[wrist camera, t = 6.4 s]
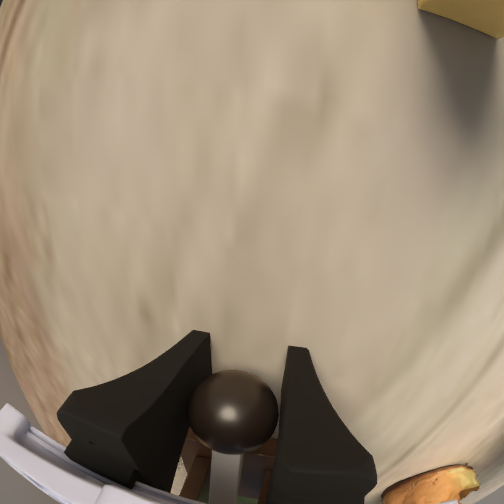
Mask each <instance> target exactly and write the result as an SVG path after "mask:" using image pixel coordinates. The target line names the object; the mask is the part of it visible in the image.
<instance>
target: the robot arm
mask: <svg viewBox="0 0 504 504" xmlns="http://www.w3.org/2000/svg"><path fill="white" fill-rule="evenodd" d="M210 375H212V363H211V347H210V333H207V332H202V331H197V330H193V331H191V332H190V333H189V334H188V335H186V336H185V337H184V338H183V339H182V340H180V341H179V342H178V343H177V344H175V345H174V346H173V347H172V348H170V349H169V350H168V351H166V352H165V353H163V354H162V355H160V356H159V357H158V358H156V359H155V360H153V361H151V362H150V363H148V364H146V365H145V366H143V367H141V368H139V369H137V370H135V371H133V372H131V373H129V374H127V375H124V376H122V377H120V378H117V379H115V380H112V381H109V382H106V383H103V384H100V385H97V386H93V387H89V388H85V389H80V390H75V391H73V392H72V393H71V395H70V396H69V397H68V398H67V400H66V401H65V402H64V404H63V405H62V406H61V408H60V409H59V410H58V412H57V417H58V420H59V422H60V424H61V425H62V426H63V428H64V429H65V431H66V432H67V433H68V435H69V436H70V437H71V439H72V440H71V442H70V443H69V445H68V446H67V447H65V446H63V445H61V444H60V443H58V442H56V441H55V440H53V439H51V438H50V437H48V436H47V435H45V434H44V433H42V432H40V431H38V430H37V429H36V428H34V427H33V426H31V424H30V422H29V421H28V419H27V418H26V417H25V416H24V415H23V414H22V413H21V412H19V411H18V410H16V409H15V408H14V407H13V406H11V405H10V404H8V403H6V405H5V406H4V407H3V409H1V411H0V457H2V459H3V460H5V461H6V462H7V463H8V464H9V465H10V466H11V467H12V468H14V469H15V470H16V471H17V472H18V473H20V474H21V475H22V476H24V477H25V478H26V479H27V480H29V481H30V482H32V484H34V485H35V486H37V487H38V488H39V489H41V490H42V491H43V492H45V493H46V494H48V495H49V496H51V497H52V498H54V499H55V500H56V501H58V502H59V503H61V504H206V503H202V502H198V501H195V500H191V499H187V498H184V497H181V496H177V495H174V494H171V493H170V492H171V488H172V484H173V480H174V476H175V473H176V469H177V466H178V462H179V459H180V455H181V452H182V449H183V446H184V443H185V439H186V436H187V433H188V431H189V428H190V425H189V421H188V416H187V408H188V402H189V399H190V396H191V394H192V392H193V391H194V389H195V388H196V386H197V385H198V384H199V383H200V382H201V381H202V380H204V379H205V378H206V377H208V376H210ZM376 484H377V473H376V468H375V463H374V460H373V457H372V455H371V454H370V453H369V452H368V451H367V450H366V449H365V448H364V447H363V446H362V445H361V444H360V443H359V442H358V441H357V440H356V438H355V437H354V436H353V435H352V434H351V433H350V431H349V430H348V429H347V427H346V426H345V425H344V423H343V422H342V420H341V419H340V418H339V416H338V415H337V413H336V412H335V410H334V408H333V407H332V405H331V403H330V402H329V400H328V398H327V396H326V394H325V392H324V390H323V388H322V386H321V384H320V381H319V379H318V377H317V374H316V371H315V369H314V366H313V363H312V360H311V357H310V353H309V350H308V349H307V348H303V347H295V346H288V352H287V359H286V365H285V371H284V377H283V383H282V389H281V405H280V420H279V433H278V441H277V446H276V452H275V457H274V462H273V467H272V472H271V477H270V482H269V487H268V492H267V496H266V501H265V504H364V497H365V496H366V495H367V494H368V493H369V492H370V491H371V490H372V489H373V488H374V487H375V486H376ZM437 504H458V500H456V499H454V500H450V501H446V502H441V503H437Z"/></svg>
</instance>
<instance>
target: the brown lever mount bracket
mask: <svg viewBox="0 0 504 504" xmlns="http://www.w3.org/2000/svg"><path fill="white" fill-rule="evenodd" d="M277 441H278V439H271V438H270V439H269V440H268V441H267V442H266V443H265V444H264V445H262V446H261V447H260V448H258V449H256V450H254V451H252V452H249V453H246V454H244V458H243V465H242V471H241V478H240V484H239V490H238V496H243V497H248V498H254V499H259V500H258V504H265V501H266V496H267V492H268V487H269V482H270V477H271V472H272V467H273V462H274V457H275V452H276V446H277ZM181 457H182V460H183V462H184V465H185V468H186V471H187V474H188V475H187V478H186V480H185V483H184V485H183V488H182V490H181V492H180V495H179V496H181V497H184V498H187V499H191V500H195V501H198V502H202V503H206V504H209V492H210V475H211V459H212V450H211V449H209V448H208V447H206V446H205V445H203V444H202V443H201V442H200V441H199V440H198V439H197V438H196V436H195V435H194V433H193V431H192V429H191V428H189V431H188V433H187V436H186V439H185V443H184V446H183V449H182V452H181Z"/></svg>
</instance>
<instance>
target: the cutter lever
mask: <svg viewBox="0 0 504 504" xmlns="http://www.w3.org/2000/svg"><path fill="white" fill-rule="evenodd" d="M187 416H188V421H189V425H190V428H191V429H192V431H193V433H194V435H195V436H196V438H197V439H198V440H199V441H200V442H201V443H202V444H203V445H205V446H206V447H208V448H209V449H211V450H212V459H211V475H210V492H209V504H236V503H237V497H238V490H239V484H240V478H241V471H242V465H243V458H244V454H246V453H249V452H252V451H254V450H256V449H258V448H260V447H261V446H262V445H264V444H265V443H266V442H267V441H268V440H269V439H270V437H271V436H272V435H273V433H274V431H275V429H276V426H277V423H278V417H279V409H278V404H277V400H276V397H275V395H274V394H273V392H272V390H271V389H270V387H269V386H268V385H267V384H266V383H265V382H264V381H262V380H261V379H260V378H258V377H257V376H255V375H253V374H250V373H248V372H244V371H239V370H225V371H220V372H217V373H214V374H212V375H210V376H208V377H206V378H205V379H204V380H202V381H201V382H200V383H199V384H198V385H197V386H196V388H195V389H194V391H193V392H192V394H191V396H190V399H189V402H188V408H187Z"/></svg>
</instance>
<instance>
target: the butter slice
mask: <svg viewBox="0 0 504 504" xmlns="http://www.w3.org/2000/svg"><path fill="white" fill-rule="evenodd" d="M417 3H418V8H419V9H421V10H424V11H427V12H431V13H434V14H437V15H440V16H443V17H446V18H449V19H451V20H454V21H457V22H459V23H462V24H464V25H467V26H469V27H472V28H474V29H476V30H479V31H481V32H483V33H485V34H488V35H490V36H492V37H494V38H496V39H499V38H502V37H504V0H417Z"/></svg>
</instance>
